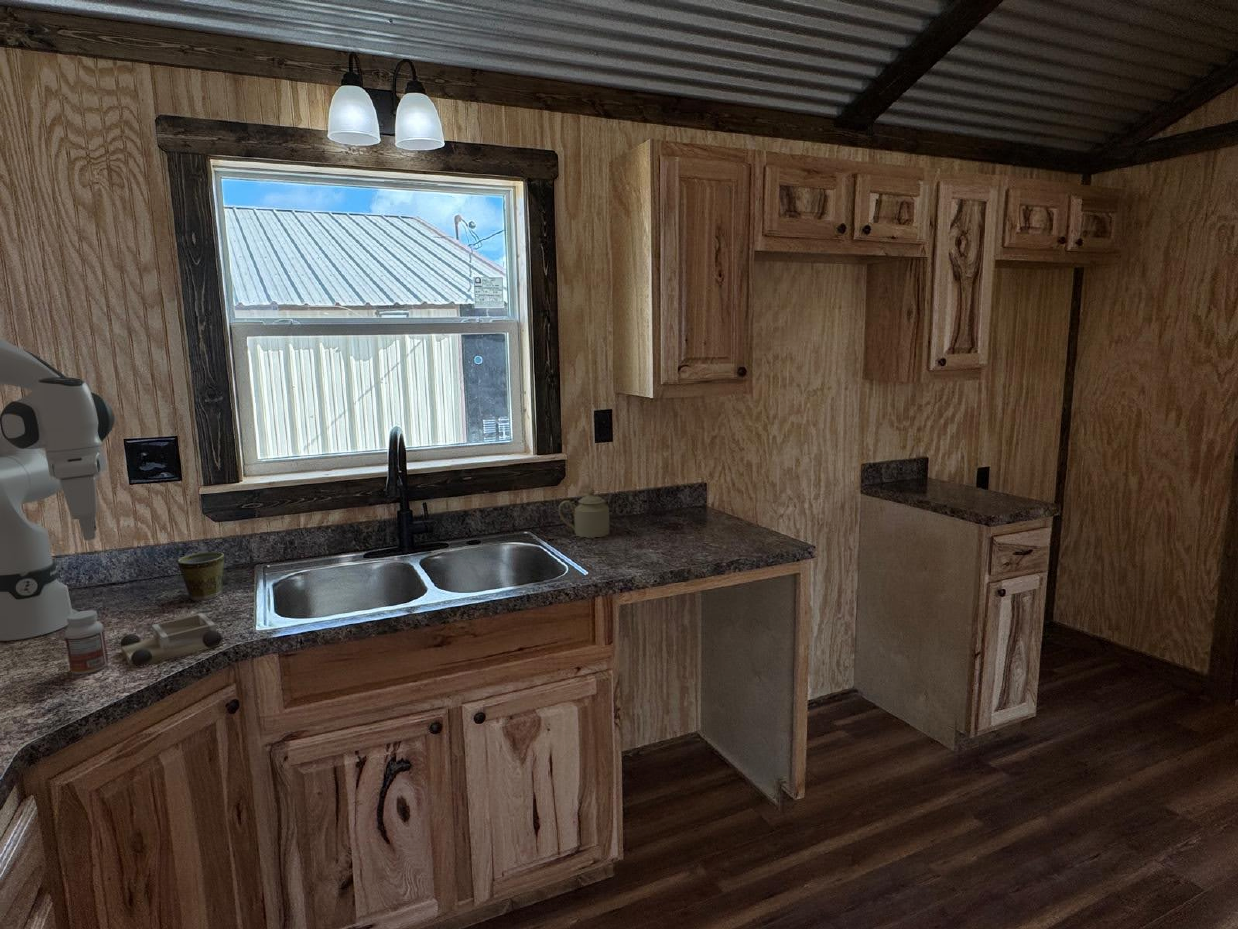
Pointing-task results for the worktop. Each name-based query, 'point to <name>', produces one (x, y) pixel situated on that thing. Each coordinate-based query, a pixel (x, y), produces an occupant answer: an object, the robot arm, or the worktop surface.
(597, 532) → the sugar bowl
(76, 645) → the pill bottle
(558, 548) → the worktop surface
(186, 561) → the ceramic cup
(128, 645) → the beige toy truck
